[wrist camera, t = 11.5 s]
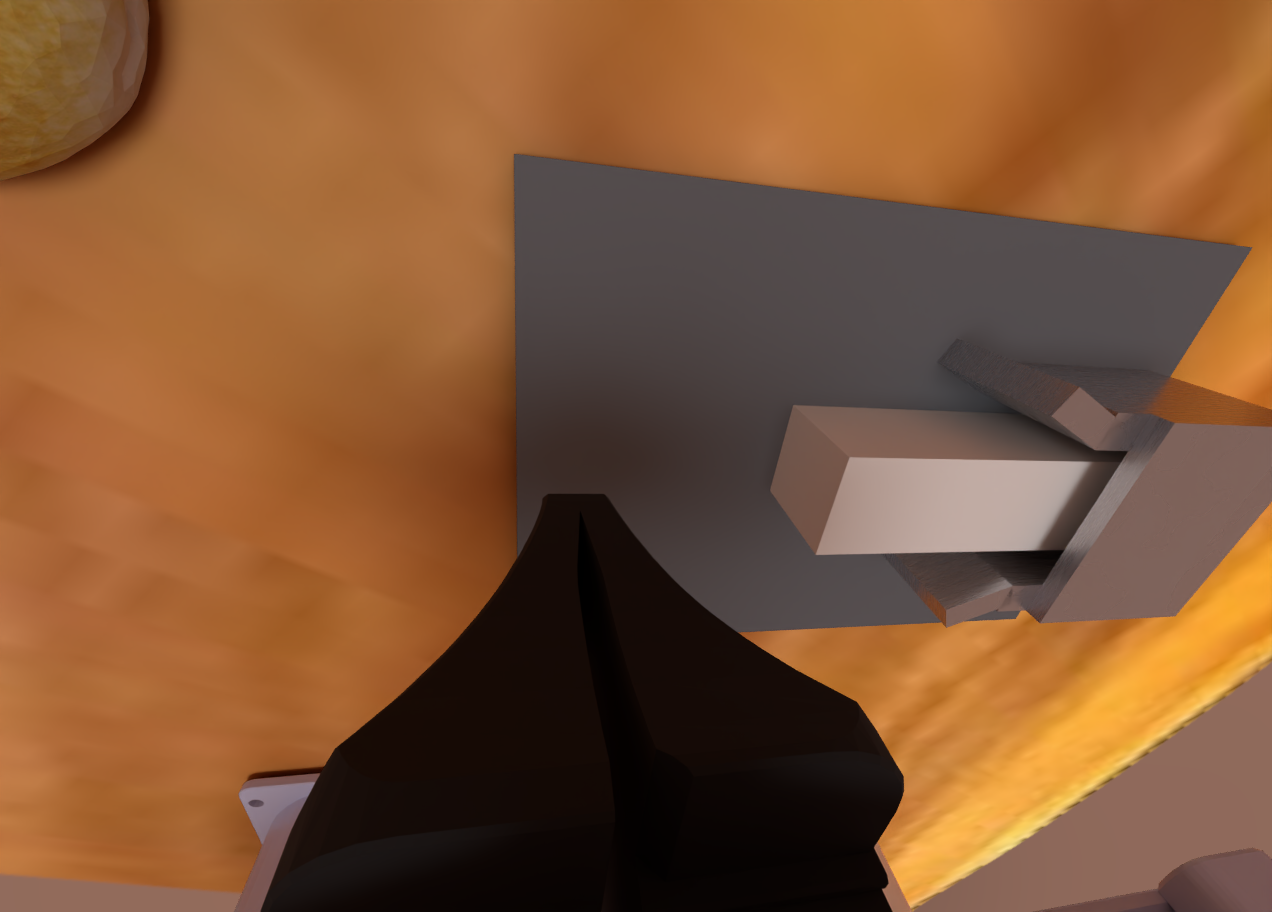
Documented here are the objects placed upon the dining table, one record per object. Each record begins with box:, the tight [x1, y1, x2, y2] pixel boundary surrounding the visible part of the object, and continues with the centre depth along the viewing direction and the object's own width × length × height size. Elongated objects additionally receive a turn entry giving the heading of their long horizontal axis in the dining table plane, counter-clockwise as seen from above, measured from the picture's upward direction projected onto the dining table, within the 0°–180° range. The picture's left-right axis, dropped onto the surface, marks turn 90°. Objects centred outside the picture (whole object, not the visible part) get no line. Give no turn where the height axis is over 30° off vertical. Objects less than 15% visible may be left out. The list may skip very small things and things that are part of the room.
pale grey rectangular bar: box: [770, 405, 1128, 555], centre depth 15 cm, size 11×3×3 cm, turn 84°
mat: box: [514, 154, 1252, 632], centre depth 16 cm, size 15×21×1 cm
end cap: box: [882, 339, 1272, 628], centre depth 15 cm, size 8×8×4 cm
